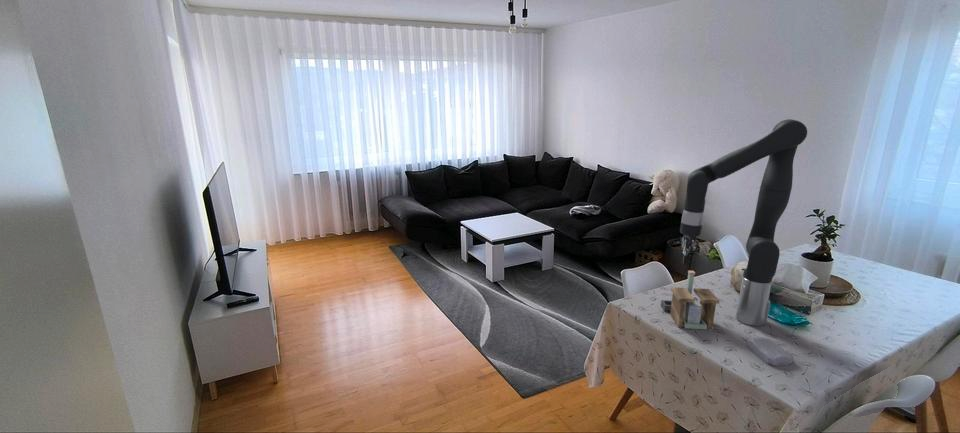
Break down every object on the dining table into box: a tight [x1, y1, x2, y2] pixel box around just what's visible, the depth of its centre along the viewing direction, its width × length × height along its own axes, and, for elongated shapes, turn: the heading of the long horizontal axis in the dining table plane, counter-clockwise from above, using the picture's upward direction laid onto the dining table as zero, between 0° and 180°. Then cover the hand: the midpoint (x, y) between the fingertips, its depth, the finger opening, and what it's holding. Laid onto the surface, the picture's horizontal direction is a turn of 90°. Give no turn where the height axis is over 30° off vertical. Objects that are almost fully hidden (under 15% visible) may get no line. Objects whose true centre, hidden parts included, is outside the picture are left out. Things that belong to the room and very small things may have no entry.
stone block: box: [746, 336, 794, 367], centre depth 144 cm, size 12×5×10 cm
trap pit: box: [660, 299, 700, 313], centre depth 175 cm, size 15×5×2 cm, turn 83°
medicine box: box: [684, 297, 702, 324], centre depth 165 cm, size 8×4×9 cm, turn 168°
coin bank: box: [729, 260, 748, 293], centre depth 194 cm, size 16×17×13 cm
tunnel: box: [669, 286, 720, 330], centre depth 164 cm, size 14×10×12 cm
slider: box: [682, 270, 708, 330], centre depth 163 cm, size 8×12×18 cm, turn 173°
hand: (685, 263), depth 172 cm, fingers closed
